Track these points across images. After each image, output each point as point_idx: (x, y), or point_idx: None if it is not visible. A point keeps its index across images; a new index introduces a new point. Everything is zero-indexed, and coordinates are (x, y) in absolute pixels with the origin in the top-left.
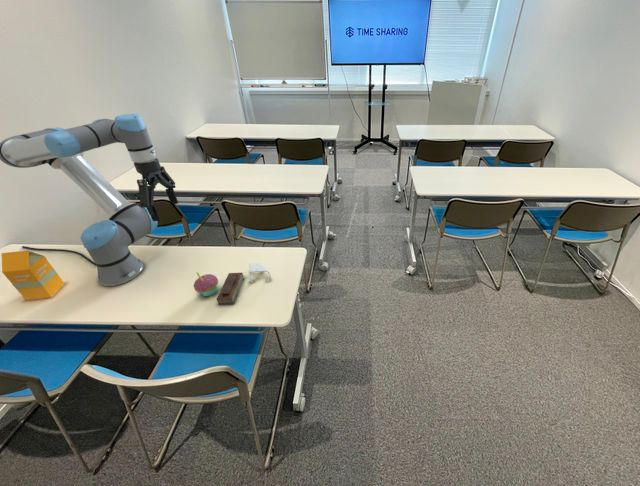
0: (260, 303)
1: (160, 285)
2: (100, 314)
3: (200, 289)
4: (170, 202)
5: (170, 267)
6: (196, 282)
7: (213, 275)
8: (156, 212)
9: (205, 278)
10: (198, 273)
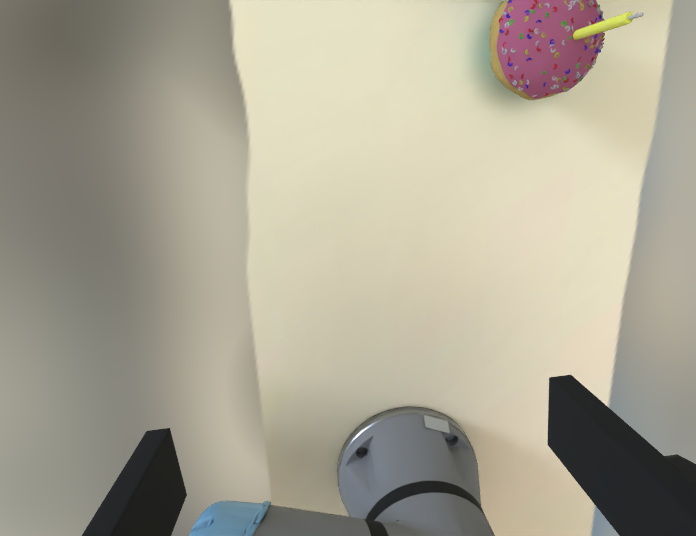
0: None
1: (470, 289)
2: (597, 395)
3: (602, 35)
4: (180, 509)
5: (362, 316)
6: (575, 68)
7: (518, 5)
8: (652, 451)
9: (566, 20)
10: (628, 12)
